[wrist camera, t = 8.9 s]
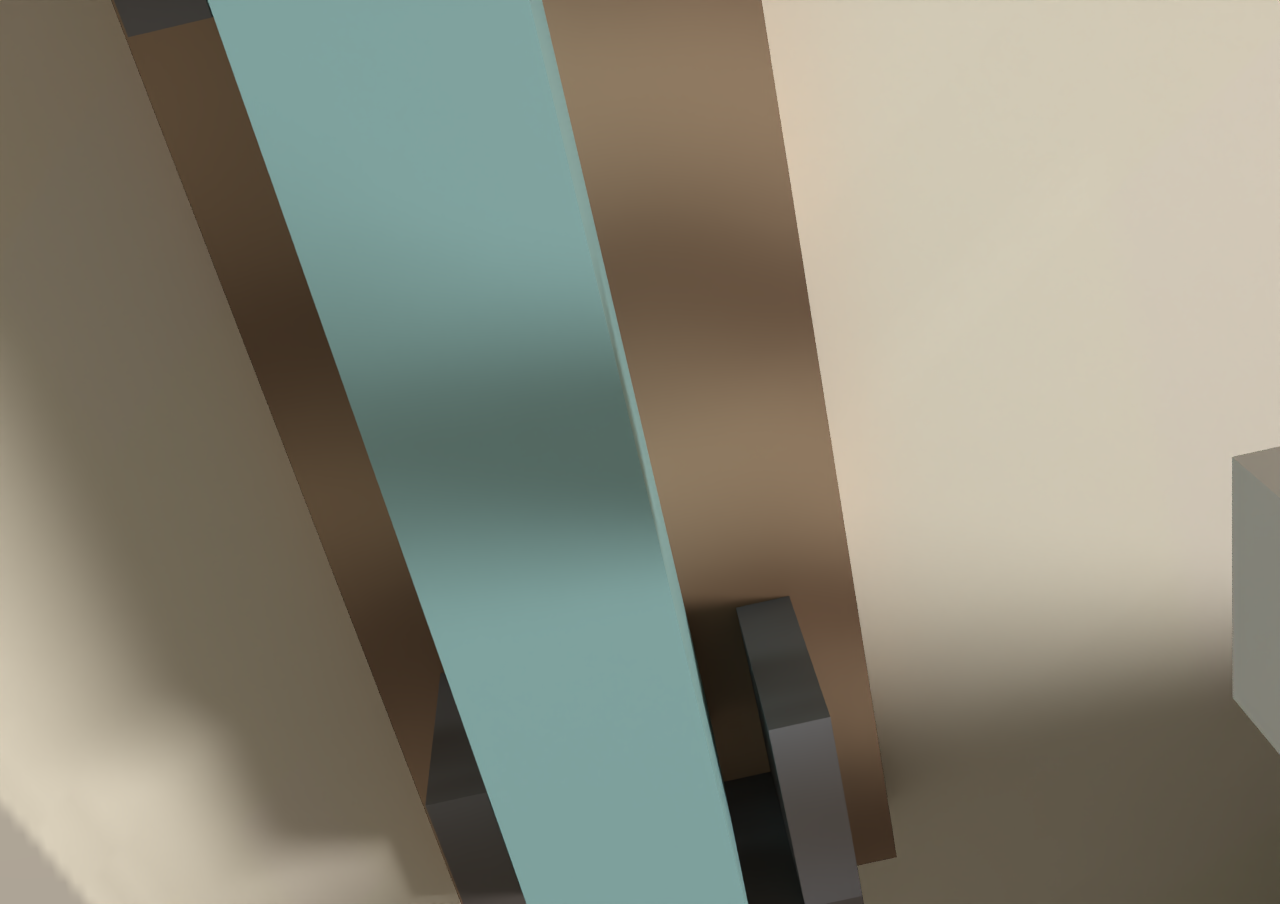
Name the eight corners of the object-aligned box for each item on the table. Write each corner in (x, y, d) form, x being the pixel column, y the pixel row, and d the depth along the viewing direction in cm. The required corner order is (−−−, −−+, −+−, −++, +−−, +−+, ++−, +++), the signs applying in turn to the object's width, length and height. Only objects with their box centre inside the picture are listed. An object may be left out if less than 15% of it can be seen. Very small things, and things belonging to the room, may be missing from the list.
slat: (710, 719, 24) (762, 975, 18) (558, 752, 24) (566, 1017, 18) (453, -376, 16) (411, -493, 10) (225, -320, 16) (63, -407, 10)
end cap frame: (878, 806, 27) (946, 997, 22) (480, 893, 27) (470, 1099, 23) (627, -734, 15) (667, -975, 11) (-64, -561, 16) (-306, -725, 11)
